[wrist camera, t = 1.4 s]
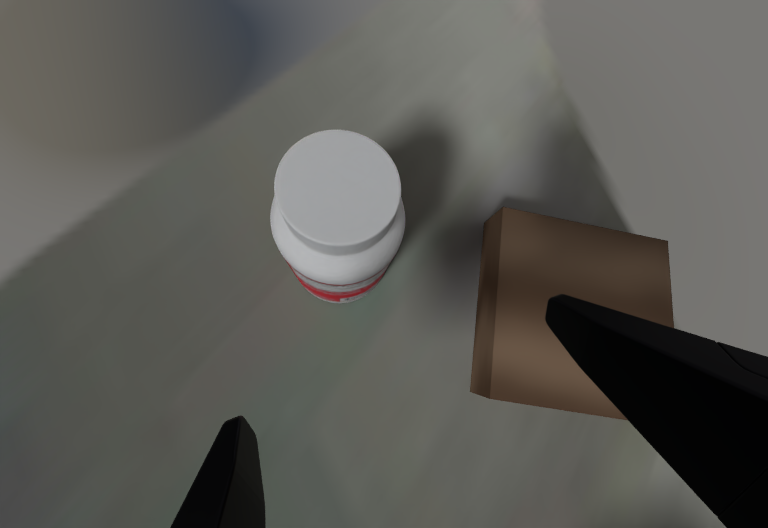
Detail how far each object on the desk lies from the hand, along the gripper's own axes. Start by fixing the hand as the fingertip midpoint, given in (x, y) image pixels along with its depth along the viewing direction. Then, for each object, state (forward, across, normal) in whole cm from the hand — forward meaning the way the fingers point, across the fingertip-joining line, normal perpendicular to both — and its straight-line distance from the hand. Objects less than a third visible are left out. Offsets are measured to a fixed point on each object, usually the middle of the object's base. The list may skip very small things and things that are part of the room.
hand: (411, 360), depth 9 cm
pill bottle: (+14, 0, +5) cm, 15 cm away
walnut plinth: (+8, -14, +11) cm, 19 cm away
